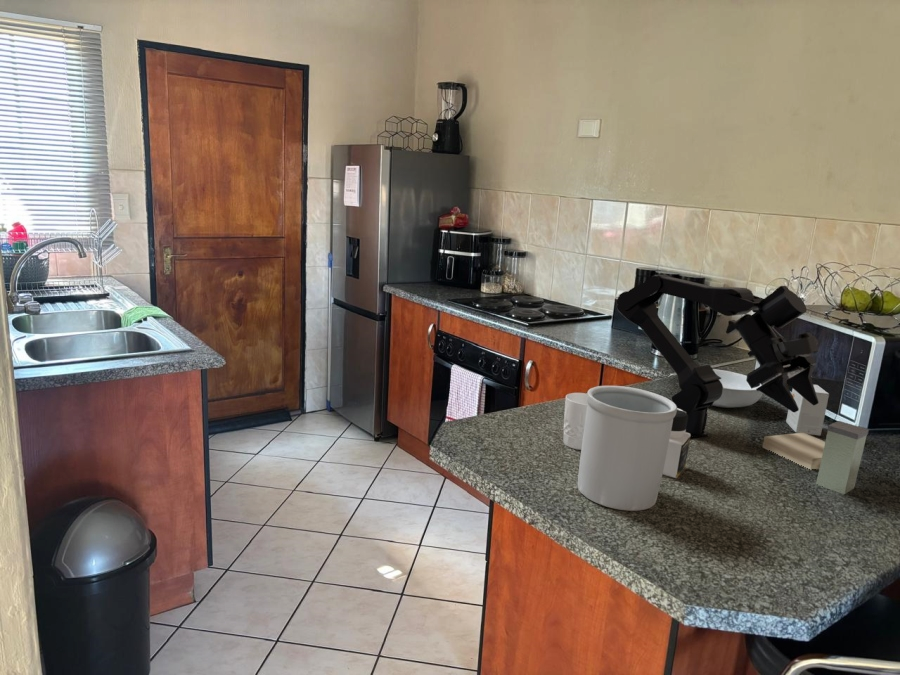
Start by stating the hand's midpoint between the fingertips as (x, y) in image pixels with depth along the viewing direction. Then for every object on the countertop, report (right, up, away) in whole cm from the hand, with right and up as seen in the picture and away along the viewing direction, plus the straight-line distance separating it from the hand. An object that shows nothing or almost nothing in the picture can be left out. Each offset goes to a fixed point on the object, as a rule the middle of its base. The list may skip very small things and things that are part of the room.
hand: (806, 407), depth 128 cm
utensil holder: (-41, -14, -13) cm, 45 cm away
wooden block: (+6, -12, +12) cm, 18 cm away
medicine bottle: (-28, -12, -1) cm, 31 cm away
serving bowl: (+2, -4, +46) cm, 46 cm away
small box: (+15, -9, +30) cm, 34 cm away
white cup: (-43, -9, +8) cm, 45 cm away
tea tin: (+4, -15, -3) cm, 16 cm away
